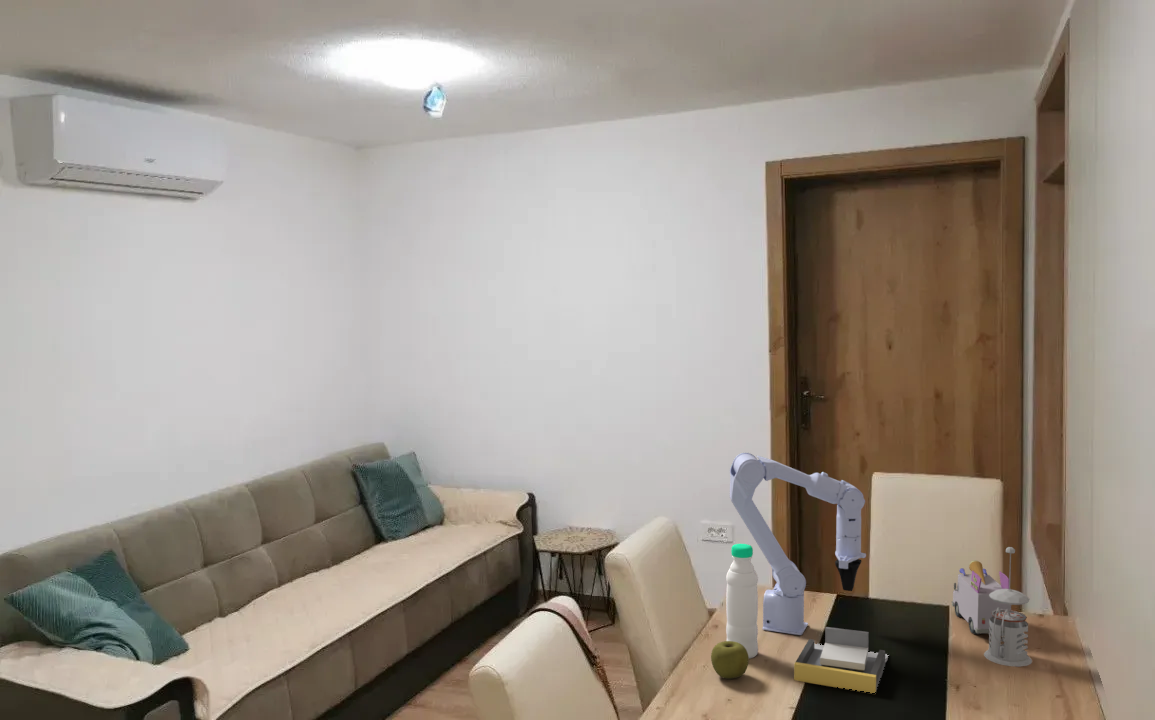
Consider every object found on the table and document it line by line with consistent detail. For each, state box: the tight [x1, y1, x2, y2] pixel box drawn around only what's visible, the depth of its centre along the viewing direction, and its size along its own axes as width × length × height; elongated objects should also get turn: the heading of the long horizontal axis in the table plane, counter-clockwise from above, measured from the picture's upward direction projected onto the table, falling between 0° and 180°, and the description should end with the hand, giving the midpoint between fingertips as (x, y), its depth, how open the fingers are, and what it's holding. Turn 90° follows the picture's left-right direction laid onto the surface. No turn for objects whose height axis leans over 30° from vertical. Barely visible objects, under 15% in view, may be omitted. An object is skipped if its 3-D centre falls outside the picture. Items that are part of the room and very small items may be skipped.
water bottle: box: [725, 543, 759, 659], centre depth 208 cm, size 7×7×25 cm
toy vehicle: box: [951, 560, 1012, 635], centre depth 224 cm, size 9×20×15 cm, turn 174°
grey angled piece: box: [820, 626, 869, 673], centre depth 198 cm, size 9×10×6 cm
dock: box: [793, 638, 890, 694], centre depth 201 cm, size 16×22×4 cm
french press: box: [983, 546, 1033, 668], centre depth 204 cm, size 10×12×25 cm
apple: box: [710, 640, 749, 680], centre depth 197 cm, size 8×8×7 cm
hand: (848, 589), depth 223 cm, fingers closed
